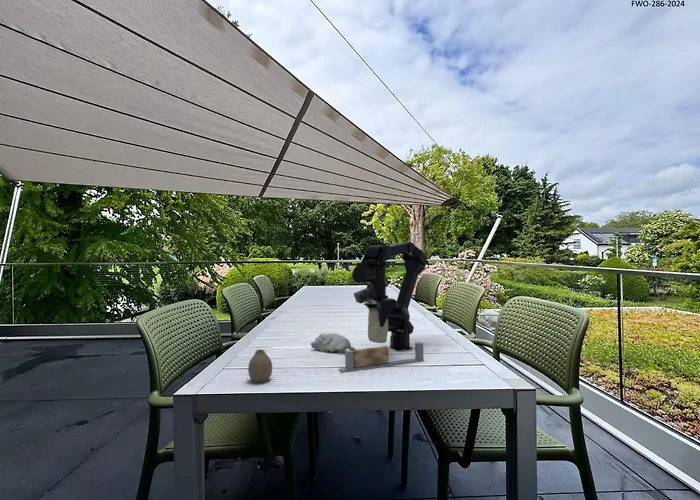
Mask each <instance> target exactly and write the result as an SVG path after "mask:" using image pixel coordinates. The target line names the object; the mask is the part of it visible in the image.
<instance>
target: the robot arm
mask: <svg viewBox="0 0 700 500" xmlns="http://www.w3.org/2000/svg"><path fill="white" fill-rule="evenodd" d="M398 255H401V259H402V260H403V261H404V263H403V264H404V265H403V266H404V268H405V269H404V270H405V273H404V277H403V279H402V283H401V285H400V290H399V292H398V296H397V299H395V298H391V297H389V295H387V293H386V292H387V291H386V290H387V289H386V288H388V287H389V284H388V283H387V282H386V279H387V277H386V276H387V275H386V273H387V272H386V270H387V268H390V265H389V264H388V263H387V261H389V260H391V258H392V257H394V256H398ZM427 263H428V257H427V255H426V254H425V252H424V251H423V250H422V249H420V248H419V247H417V246H416V245H415V243H414V242H412V241H402V242H399V243H394V244H390V245H380V244H378V245H369V246H367V249H366V251H365V254H364V255H363V258H362V259H361V262H356V266H355V267H354V268H353V270H352V273H351V276H352V279H353V281H354V282H355V283H357V284H361V283H363V284H364V283H367V284H366V288H363V289H360V290H358V291H356V292H354V293H353V297H354V299H355V302H356V303H357V304H363V305H364V306H365V307H366V308H367V309H368V311H369V310H370V309H371V308H375V309H376V310H377V311H378V314H379V322H380V327H383V326H384V324H385V322H386V320H387V318H388V332H390V333H391V334H390V336H389V338H390V339H389V343H390V345H389V346H388V348H389V349H393V350H394V351H396V352H401V351H406V350H407V351H408V350H409V351H410V350H412V349H413V348H412V346H410V343H411V342H410V340H411V339H410V336H411V335H412V334H413V333H414V329H415V328H414V325H413V324H412V322H411V321H410V317H411V316H410V311H409V307H410V303H411V301H412V300H411V299H412V296H413V293H414V290H415V287H416V283H417V280H418V277H419V275H420V274H421V273H423V272H424V270H425V268H426V266H427Z"/></svg>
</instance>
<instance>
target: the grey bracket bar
mask: <svg viewBox="0 0 700 500" xmlns="http://www.w3.org/2000/svg"><path fill="white" fill-rule="evenodd" d="M344 353H345V355H344V356H345V362H344V363H345V365H344V366H345V367H341V368H338V372H339V373H341V374H342V373H343V374H344V373H351V372H356V371H364V370H365V371H366V370H370V369H371V370H372V369H379V368H385V367H386V368H387V367H394V366H400V365H407V364H413V363H421V362H425V361H424V343H423V342H422V341H416V342H415V343H414V356H415V357H413V358H408V359H399V360H392V361H389V363H383V364H375V365H368V366H361V367H354V355H353V351H352V350H349V349H347V350H345V351H344Z"/></svg>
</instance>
